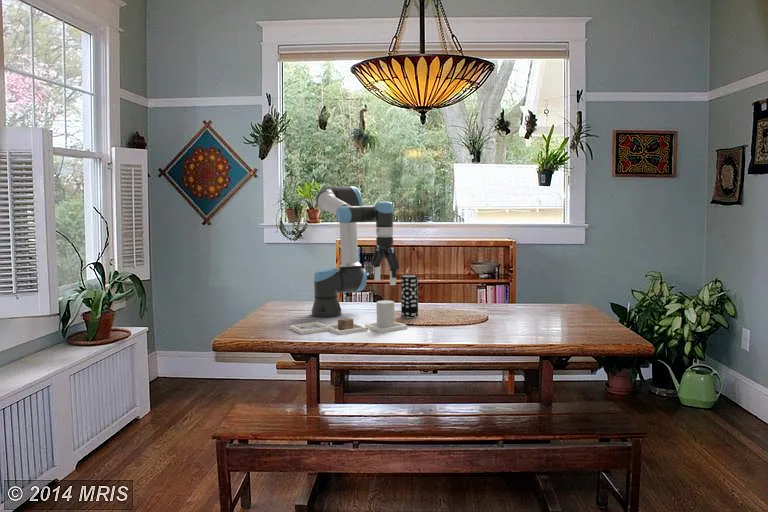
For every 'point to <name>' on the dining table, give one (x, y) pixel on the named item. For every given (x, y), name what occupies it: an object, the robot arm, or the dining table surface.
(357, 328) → the frame
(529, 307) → the dining table surface
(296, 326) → the frame
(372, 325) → the frame
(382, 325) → the cup
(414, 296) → the white-spotted black cylinder
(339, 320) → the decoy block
